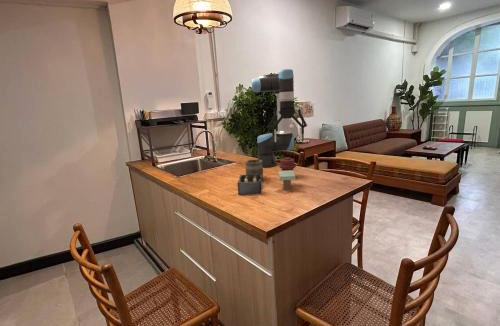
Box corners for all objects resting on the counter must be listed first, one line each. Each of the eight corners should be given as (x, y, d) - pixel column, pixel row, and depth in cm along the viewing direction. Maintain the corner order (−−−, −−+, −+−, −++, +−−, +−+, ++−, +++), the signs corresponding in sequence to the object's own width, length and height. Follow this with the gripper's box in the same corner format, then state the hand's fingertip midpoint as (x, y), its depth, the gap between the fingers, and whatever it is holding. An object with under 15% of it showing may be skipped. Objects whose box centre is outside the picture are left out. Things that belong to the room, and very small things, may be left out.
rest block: (283, 185, 152) (282, 175, 151) (289, 185, 152) (289, 174, 151) (284, 189, 145) (283, 179, 143) (291, 189, 144) (290, 178, 143)
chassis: (240, 185, 157) (240, 174, 156) (261, 184, 156) (261, 173, 155) (238, 194, 141) (237, 182, 140) (261, 194, 141) (260, 181, 139)
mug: (262, 183, 160) (261, 163, 157) (244, 183, 162) (243, 163, 159) (265, 175, 175) (264, 157, 172) (249, 176, 177) (248, 158, 174)
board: (278, 174, 153) (278, 170, 153) (293, 173, 153) (292, 170, 152) (279, 180, 142) (279, 176, 141) (295, 179, 141) (295, 176, 141)
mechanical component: (298, 176, 169) (291, 180, 161) (284, 174, 175) (276, 178, 167) (298, 156, 166) (290, 160, 158) (284, 155, 172) (275, 158, 164)
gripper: (263, 101, 139) (265, 143, 143) (312, 98, 137) (312, 140, 142) (263, 102, 146) (264, 141, 150) (309, 99, 145) (310, 139, 149)
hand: (288, 141), depth 146 cm, fingers open, 13 cm apart
